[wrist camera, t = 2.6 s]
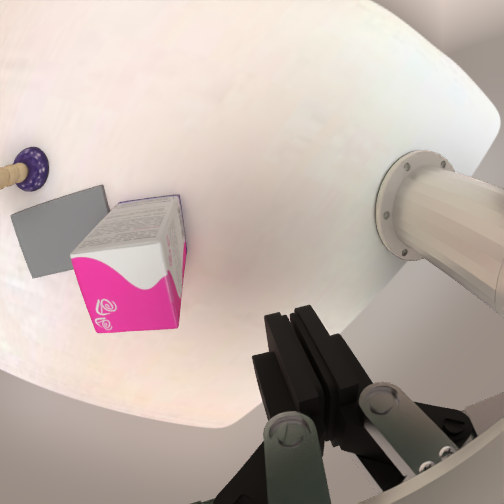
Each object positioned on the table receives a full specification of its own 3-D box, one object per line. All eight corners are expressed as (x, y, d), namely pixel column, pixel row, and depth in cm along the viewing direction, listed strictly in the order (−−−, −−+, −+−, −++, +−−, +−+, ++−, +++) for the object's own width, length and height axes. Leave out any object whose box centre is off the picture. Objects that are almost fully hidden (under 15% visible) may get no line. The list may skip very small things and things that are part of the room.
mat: (103, 184, 24) (100, 185, 23) (122, 256, 27) (121, 258, 26) (13, 214, 23) (10, 215, 22) (35, 275, 26) (32, 278, 25)
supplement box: (115, 202, 25) (66, 252, 14) (180, 193, 25) (167, 238, 15) (127, 261, 27) (95, 336, 17) (188, 254, 28) (184, 330, 17)
